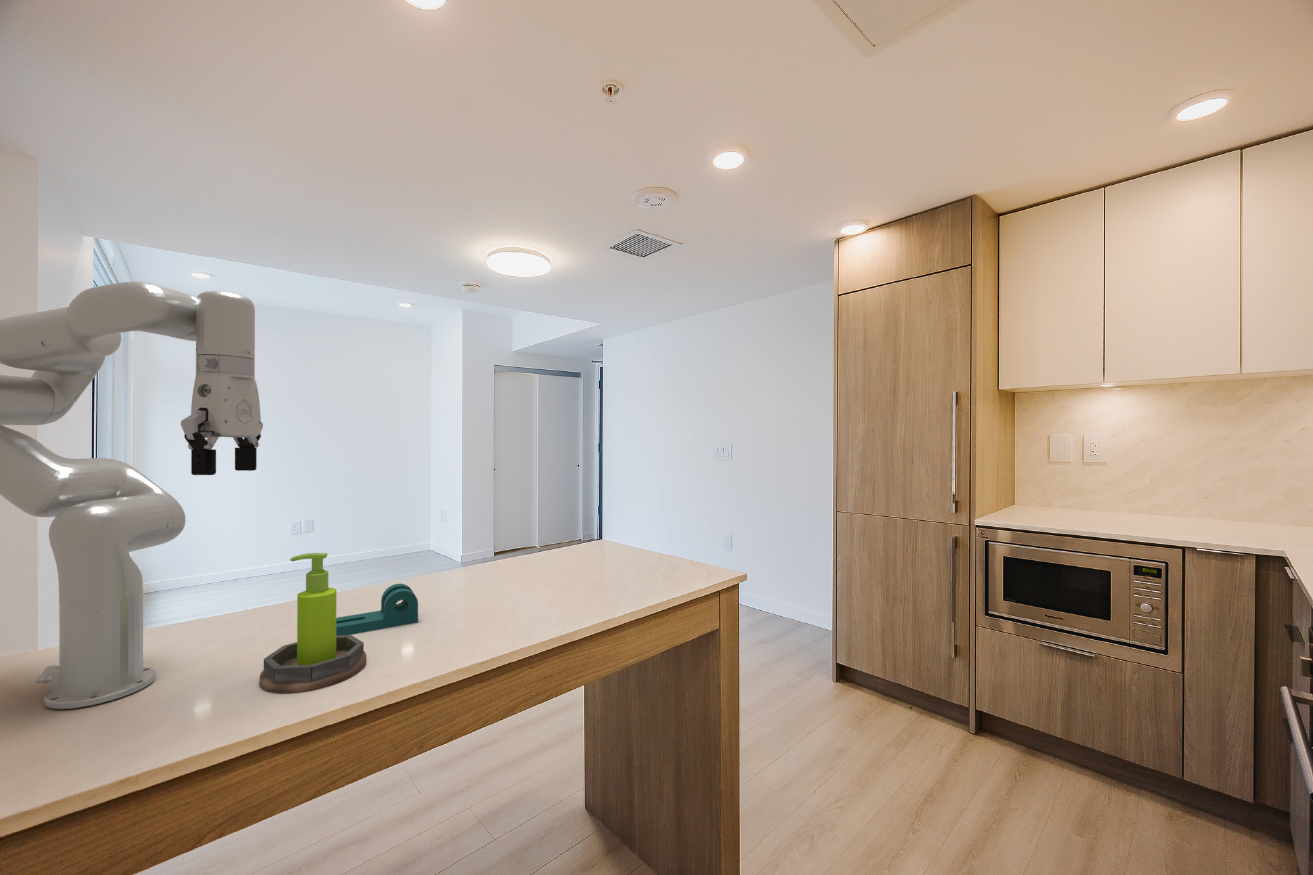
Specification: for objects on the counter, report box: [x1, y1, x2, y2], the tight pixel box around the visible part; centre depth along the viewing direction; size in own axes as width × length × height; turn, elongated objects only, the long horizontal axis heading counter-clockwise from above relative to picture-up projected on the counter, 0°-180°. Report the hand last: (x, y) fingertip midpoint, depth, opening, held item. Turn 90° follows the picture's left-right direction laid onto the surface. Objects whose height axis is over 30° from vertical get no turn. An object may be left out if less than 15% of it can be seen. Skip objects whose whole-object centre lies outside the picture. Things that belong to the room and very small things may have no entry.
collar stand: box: [259, 634, 367, 694], centre depth 94 cm, size 16×16×4 cm
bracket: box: [336, 583, 419, 636], centre depth 116 cm, size 18×7×8 cm, turn 124°
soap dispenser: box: [289, 552, 337, 665], centre depth 93 cm, size 6×7×20 cm
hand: (225, 472), depth 86 cm, fingers open, 9 cm apart
